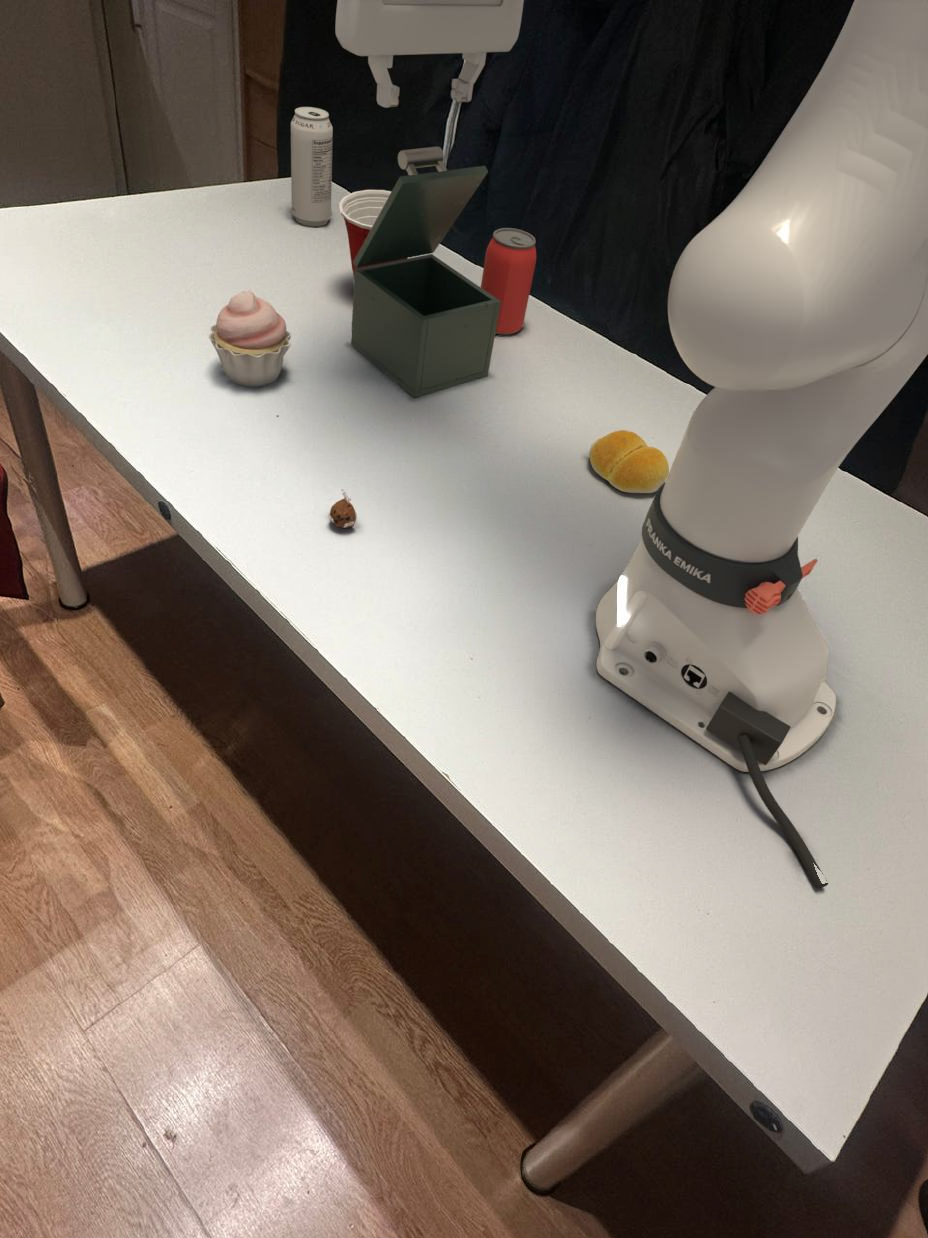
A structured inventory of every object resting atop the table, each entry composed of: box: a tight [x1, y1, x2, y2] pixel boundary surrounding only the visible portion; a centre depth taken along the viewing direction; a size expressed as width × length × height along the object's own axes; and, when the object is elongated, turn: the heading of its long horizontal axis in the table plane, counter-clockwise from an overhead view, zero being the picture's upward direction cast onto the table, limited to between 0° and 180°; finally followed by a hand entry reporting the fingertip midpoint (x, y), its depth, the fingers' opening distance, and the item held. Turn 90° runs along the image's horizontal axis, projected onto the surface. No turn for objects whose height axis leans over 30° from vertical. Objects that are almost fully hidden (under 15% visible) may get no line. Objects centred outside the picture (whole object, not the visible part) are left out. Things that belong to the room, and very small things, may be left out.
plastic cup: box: [338, 189, 408, 276], centre depth 110 cm, size 11×11×12 cm
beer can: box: [480, 227, 537, 335], centre depth 109 cm, size 7×7×12 cm
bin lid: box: [353, 146, 489, 268], centre depth 94 cm, size 14×12×5 cm
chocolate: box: [328, 488, 358, 529], centre depth 79 cm, size 3×2×4 cm
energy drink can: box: [290, 106, 334, 227], centre depth 124 cm, size 6×6×15 cm
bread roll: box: [589, 429, 670, 494], centre depth 92 cm, size 8×9×4 cm
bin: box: [350, 253, 501, 399], centre depth 101 cm, size 14×12×10 cm
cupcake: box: [208, 289, 293, 387], centre depth 93 cm, size 9×9×10 cm
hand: (424, 102), depth 85 cm, fingers open, 8 cm apart
